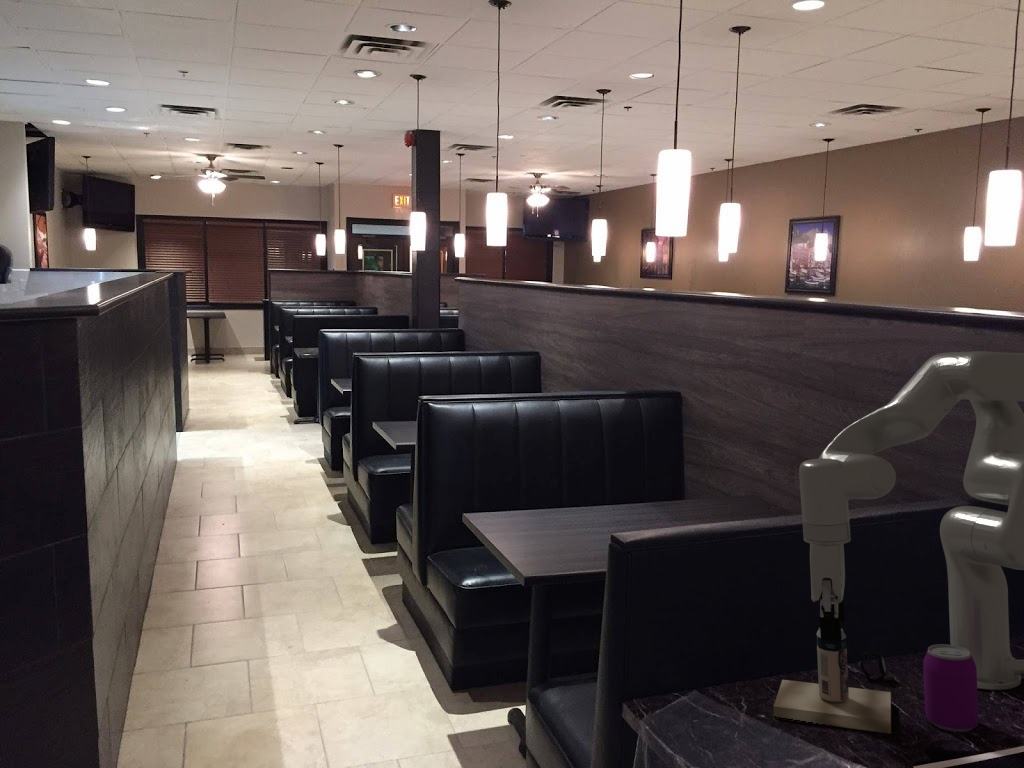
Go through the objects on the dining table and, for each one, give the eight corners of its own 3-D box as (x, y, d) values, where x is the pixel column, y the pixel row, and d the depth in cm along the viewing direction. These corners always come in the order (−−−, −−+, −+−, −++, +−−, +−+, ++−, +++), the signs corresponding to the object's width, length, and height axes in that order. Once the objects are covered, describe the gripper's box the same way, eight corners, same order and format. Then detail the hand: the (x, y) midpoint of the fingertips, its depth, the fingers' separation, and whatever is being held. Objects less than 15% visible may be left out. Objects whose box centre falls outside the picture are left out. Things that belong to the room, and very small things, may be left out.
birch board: (891, 703, 140) (890, 692, 140) (891, 733, 129) (890, 721, 129) (782, 690, 148) (782, 679, 148) (774, 717, 137) (773, 706, 137)
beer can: (851, 704, 136) (848, 634, 135) (821, 704, 137) (819, 634, 136) (845, 693, 140) (842, 625, 140) (816, 692, 141) (814, 624, 141)
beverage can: (928, 731, 129) (925, 657, 129) (923, 711, 136) (920, 641, 136) (982, 737, 126) (979, 661, 126) (974, 716, 134) (972, 644, 133)
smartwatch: (881, 684, 148) (880, 658, 148) (854, 677, 152) (853, 651, 152) (892, 678, 150) (891, 652, 150) (866, 671, 154) (864, 645, 154)
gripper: (807, 520, 147) (814, 612, 148) (798, 543, 131) (805, 646, 132) (852, 520, 144) (858, 615, 144) (847, 544, 128) (854, 650, 129)
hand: (833, 630), depth 138 cm, fingers open, 9 cm apart
